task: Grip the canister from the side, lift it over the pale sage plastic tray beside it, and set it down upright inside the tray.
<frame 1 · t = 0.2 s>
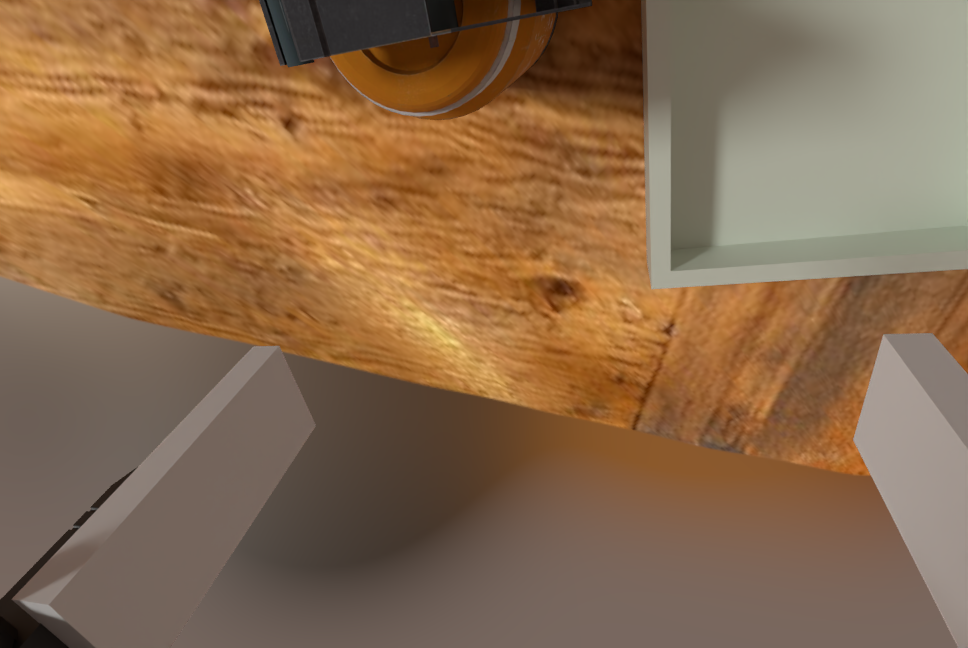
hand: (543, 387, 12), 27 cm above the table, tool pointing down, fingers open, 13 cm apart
canister: (503, 1, 32), on the table
tray: (819, 93, 31), on the table
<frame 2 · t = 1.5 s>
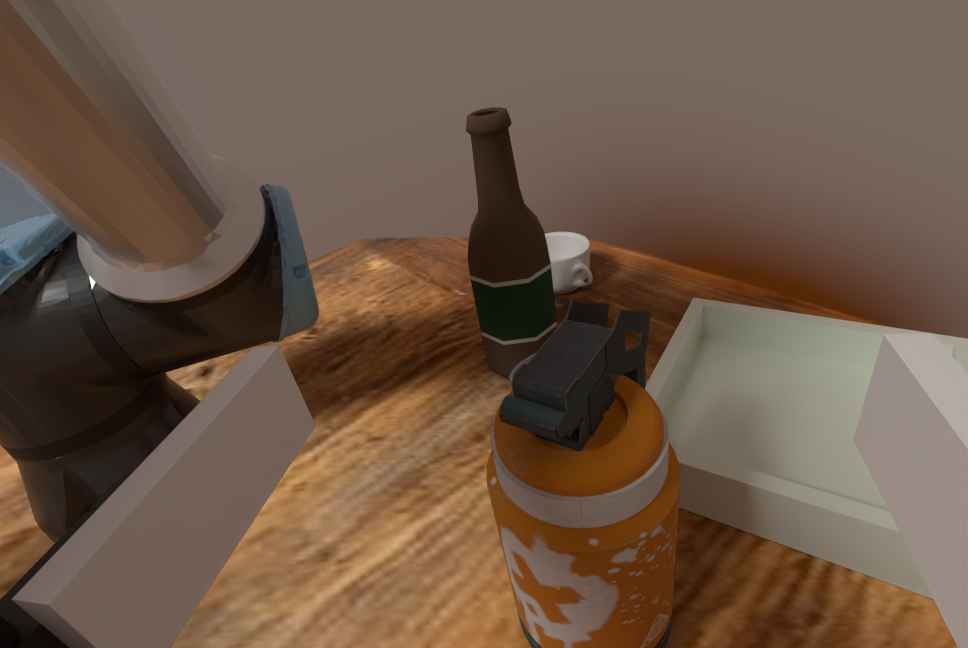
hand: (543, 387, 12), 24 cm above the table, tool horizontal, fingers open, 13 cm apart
teacup: (565, 289, 63), on the table
canister: (599, 593, 32), on the table
tray: (791, 433, 40), on the table
beer bottle: (524, 359, 53), on the table
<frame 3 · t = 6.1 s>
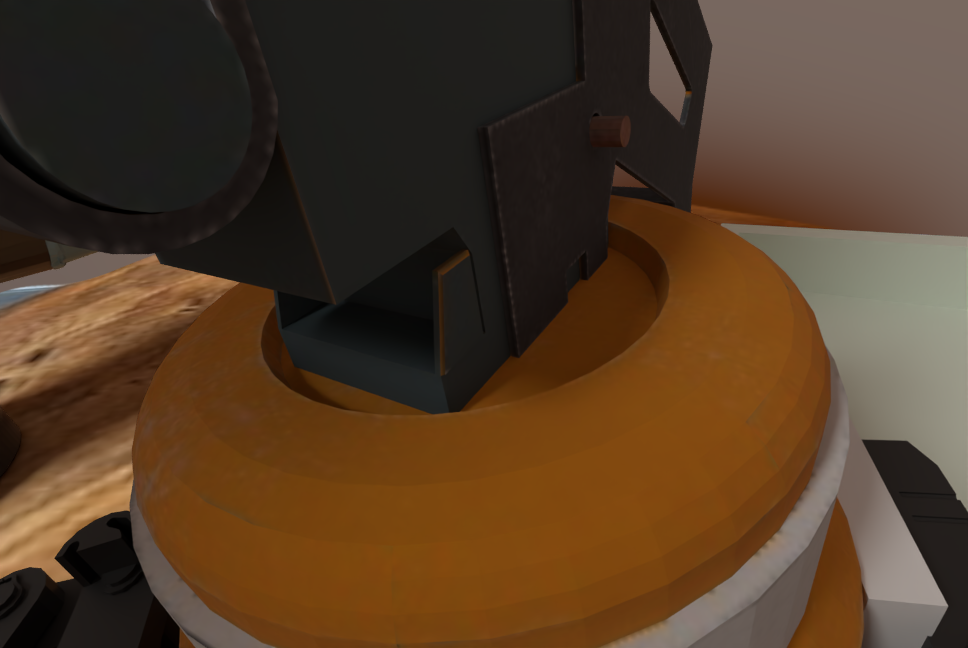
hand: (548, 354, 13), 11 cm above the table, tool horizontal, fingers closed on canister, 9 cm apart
tray: (909, 422, 23), on the table
when the fingers open (13 cm above the table, at t = 11.8 s): canister drops 1 cm, resting on tray.
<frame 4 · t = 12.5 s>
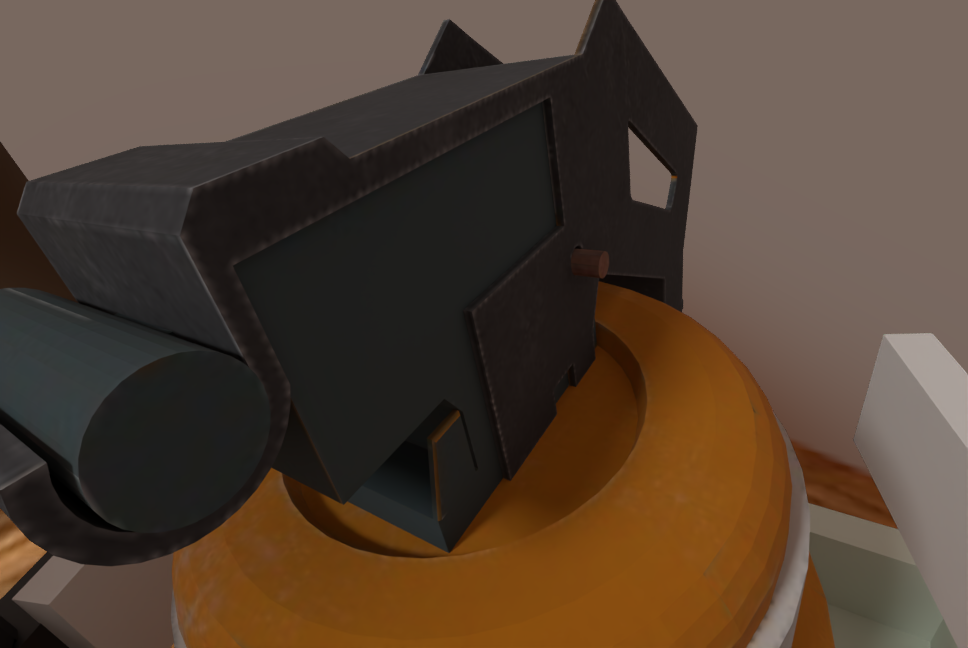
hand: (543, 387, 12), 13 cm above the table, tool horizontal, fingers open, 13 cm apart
beer bottle: (193, 504, 30), on the table
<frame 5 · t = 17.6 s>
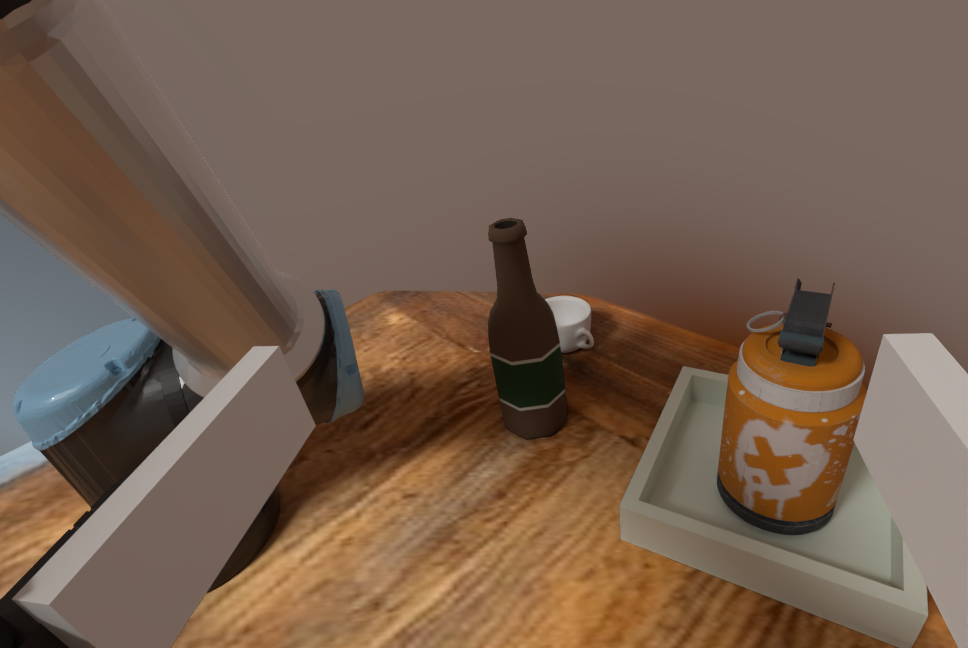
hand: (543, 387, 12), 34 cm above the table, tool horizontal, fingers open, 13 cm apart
teacup: (569, 348, 71), on the table
canister: (773, 487, 46), point 1 cm above the table, touching tray
tray: (766, 492, 47), on the table
beer bottle: (536, 418, 60), on the table
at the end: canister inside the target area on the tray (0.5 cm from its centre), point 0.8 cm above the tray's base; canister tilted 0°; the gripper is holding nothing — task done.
